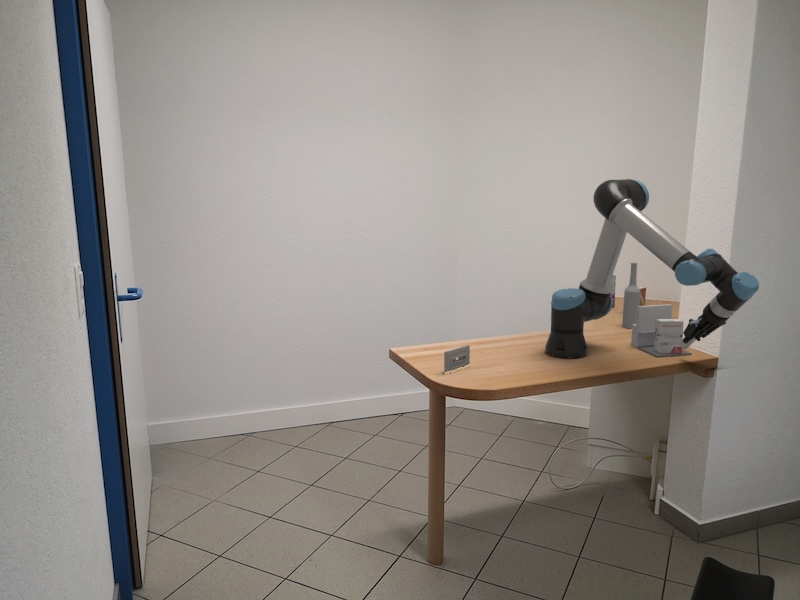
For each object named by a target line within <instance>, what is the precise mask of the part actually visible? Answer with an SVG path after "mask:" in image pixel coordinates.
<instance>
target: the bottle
mask: <svg viewBox="0 0 800 600" xmlns="http://www.w3.org/2000/svg"><path fill="white" fill-rule="evenodd" d="M637 269H638V263H637V262H630V277H629V284H628V286H627V287H626V288H625V289H624V294H623V308H622V309H623V310H622V322H621V323H622V324H621V327H622V328H623V329H630V330H632V324H636V318H637V306H640V290H639V288H638V287H637V286H638V285H637V275H638V274H637V273H638V270H637Z"/></svg>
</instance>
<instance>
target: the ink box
mask: <svg viewBox="0 0 800 600" xmlns="http://www.w3.org/2000/svg"><path fill="white" fill-rule="evenodd" d="M684 324H685V323H684V320H682V319H679V318H676V319H674V318H672V319H656V322H655V341H654V350H655V351H657V352H658V353H682V348H681V345H680V342H681V341H682V340H683V339H684V334H683V332H684Z"/></svg>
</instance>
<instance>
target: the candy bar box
mask: <svg viewBox="0 0 800 600" xmlns="http://www.w3.org/2000/svg"><path fill="white" fill-rule="evenodd" d="M616 277H617V276H616V275H615V274H613V275H612V278H611V281H610V284H609V286H610V288H611V290H612V291H611V298H612V299H613V305H612V308H615V306H616V305H615V303H616V280H617V279H616Z"/></svg>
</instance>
